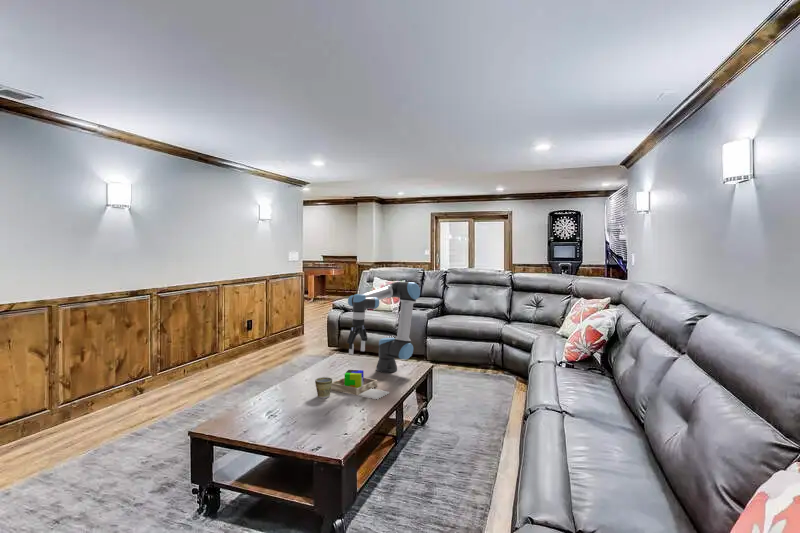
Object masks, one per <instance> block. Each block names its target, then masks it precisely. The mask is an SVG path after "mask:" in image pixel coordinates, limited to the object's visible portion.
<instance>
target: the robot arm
mask: <svg viewBox="0 0 800 533" xmlns="http://www.w3.org/2000/svg"><path fill="white" fill-rule="evenodd" d="M420 296H421V288H420V286H419V285H418V284H417V283H416V282H412V281H411V282H410V281H396V282H392V283H388V284H385V285H383V287H381V288H380V287H379V288H377V289H374V290H371V291H368V292H364V293H356V294H354V295H353V294H352V295H350V296H348V298H347V304H348V305H349V306H350V307H352V323H351V324H352V326H353V327H350V330H349V334H348V338H347V342H346V343H347V344H348V355H354V348H355V346H354V345H355V344H354V342H355V340H356V338H357V337H358V335H359V337H360V339H361V340H360V352H365V351H366V342H367V341H368V338H369V337H368V334H367V331H366V325H365V321H366V320H365V318H366V313H365V312H366V310H370V309H371V310H374V309H375V310H376V309H378V308H379V306H380V300H383V299H386V298H387V299H390V298H399V301H400V311H399V319H398V327H397V334H396V337H384V338H380V339H379V341H378V360H377V364H376V368H375V369H376V370H375V371H377V372H378V373H386V374H387V373H388V374H389V373H394V372H397V371H398V365H397V361H396V359H399V360H409V359H410V357H412V356H413V353H414V345H413V344H412V343H411V342H412V340H411V338H410V333H411V324H412V317H413V309H414V304H415V303H416V302H417V300H418V299H419V298H420Z"/></svg>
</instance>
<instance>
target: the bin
mask: <svg viewBox="0 0 800 533" xmlns="http://www.w3.org/2000/svg"><path fill="white" fill-rule="evenodd" d="M376 386H377V387H378V379H374V378H369V377H368V378H367V377H364V380H363V386H361V387H359V388H354V387H350V386H345V377H342V378H340V379H337V380H335V381H332V385H331V391H335V392H339V393H340V392H341V393H344V394H345V393H346V394H347V395H348V394H349V395H354V396H359V394H361V393H363V392H365V391H367V390H369V389H371V388H373V389H375V388H377V387H376ZM374 387H375V388H374Z"/></svg>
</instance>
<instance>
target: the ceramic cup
mask: <svg viewBox="0 0 800 533" xmlns="http://www.w3.org/2000/svg"><path fill="white" fill-rule="evenodd" d="M314 381H315V382H314V383H315V388H316V394H317V397H318V398H319V399H327V398H329V397H330V395H331V391H332V390H331V385H332V382H333V378H332V377H328V376H326V377H325V376H322V377H318V378H316V379H315V380H314Z"/></svg>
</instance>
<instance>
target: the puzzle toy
mask: <svg viewBox="0 0 800 533" xmlns="http://www.w3.org/2000/svg"><path fill="white" fill-rule="evenodd" d="M364 372H365V371H364V370H361V369H348V370H346V372H345V373H344V378H345V384H344V385H345V386H350V387H354V388H359V387H361V386H363V385H364V384H363V380H364V378H365V377H364V375H365V374H364Z"/></svg>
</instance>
